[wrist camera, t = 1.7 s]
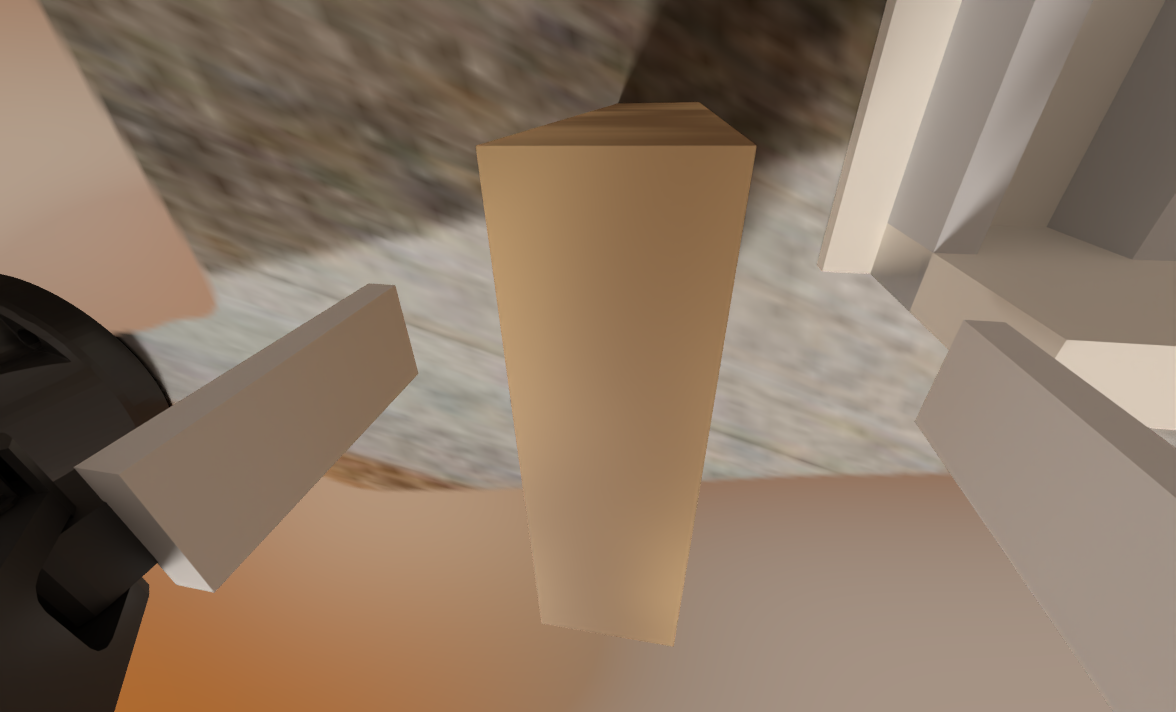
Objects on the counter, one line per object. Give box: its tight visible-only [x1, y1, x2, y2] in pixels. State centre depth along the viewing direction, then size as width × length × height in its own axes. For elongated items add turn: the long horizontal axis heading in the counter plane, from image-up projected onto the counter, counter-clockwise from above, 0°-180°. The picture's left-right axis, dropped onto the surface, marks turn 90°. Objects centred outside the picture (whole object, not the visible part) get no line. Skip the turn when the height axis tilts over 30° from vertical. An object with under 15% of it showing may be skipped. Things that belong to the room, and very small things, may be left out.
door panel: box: [476, 102, 757, 646], centre depth 13 cm, size 3×10×14 cm, turn 1°
